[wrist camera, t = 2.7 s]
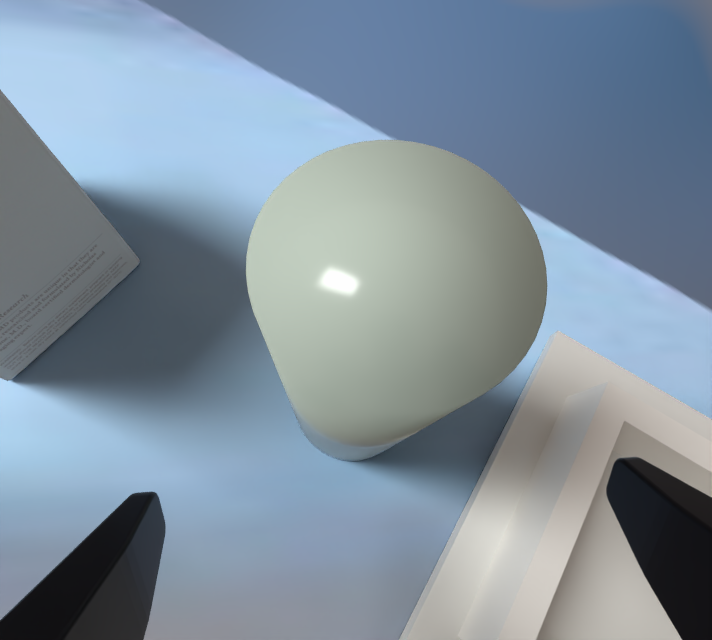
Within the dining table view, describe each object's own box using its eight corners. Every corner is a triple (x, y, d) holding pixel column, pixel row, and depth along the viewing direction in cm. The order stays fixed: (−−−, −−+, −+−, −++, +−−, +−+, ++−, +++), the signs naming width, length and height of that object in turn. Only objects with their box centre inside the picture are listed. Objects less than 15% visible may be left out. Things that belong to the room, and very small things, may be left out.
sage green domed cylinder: (429, 424, 19) (607, 321, 7) (328, 483, 18) (337, 478, 6) (373, 329, 21) (443, 104, 9) (275, 378, 20) (197, 204, 7)
